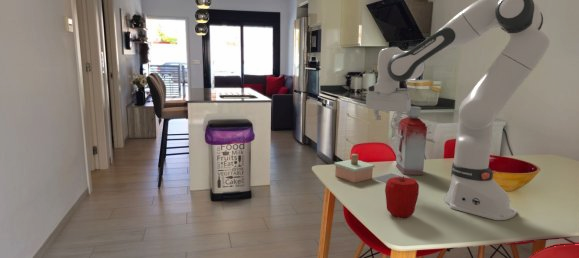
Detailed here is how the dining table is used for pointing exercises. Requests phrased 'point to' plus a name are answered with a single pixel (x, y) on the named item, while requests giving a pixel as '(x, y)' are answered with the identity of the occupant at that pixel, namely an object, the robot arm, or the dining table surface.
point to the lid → (354, 164)
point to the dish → (353, 174)
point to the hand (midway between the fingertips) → (387, 121)
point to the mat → (386, 177)
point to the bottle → (411, 143)
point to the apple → (401, 196)
